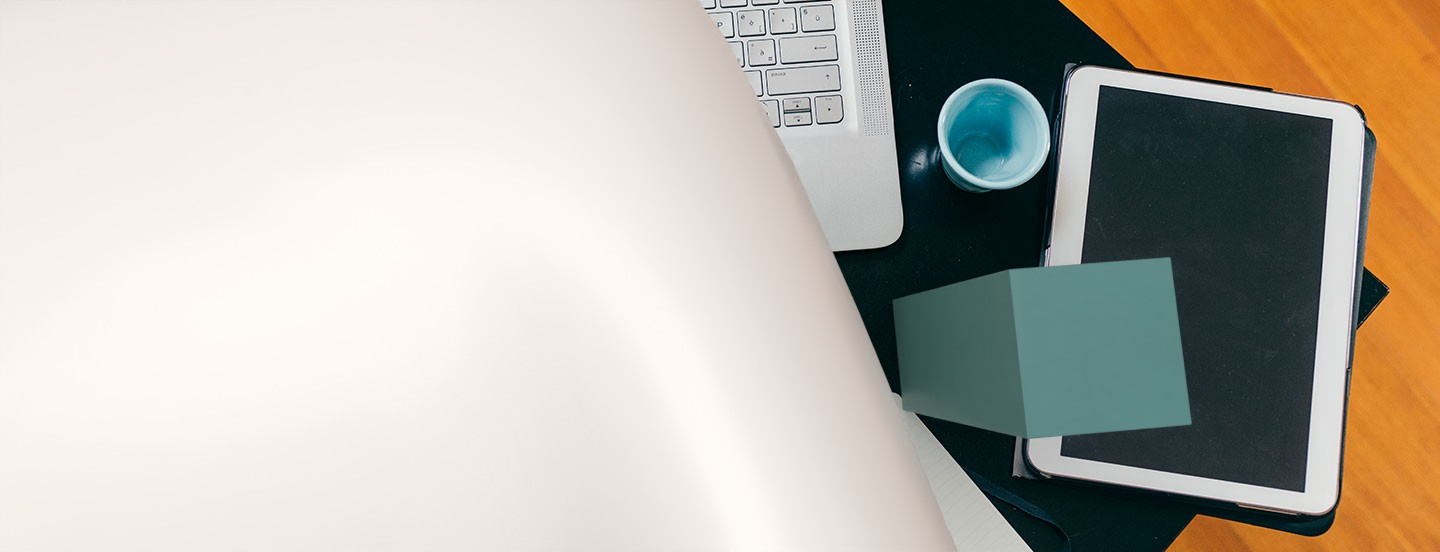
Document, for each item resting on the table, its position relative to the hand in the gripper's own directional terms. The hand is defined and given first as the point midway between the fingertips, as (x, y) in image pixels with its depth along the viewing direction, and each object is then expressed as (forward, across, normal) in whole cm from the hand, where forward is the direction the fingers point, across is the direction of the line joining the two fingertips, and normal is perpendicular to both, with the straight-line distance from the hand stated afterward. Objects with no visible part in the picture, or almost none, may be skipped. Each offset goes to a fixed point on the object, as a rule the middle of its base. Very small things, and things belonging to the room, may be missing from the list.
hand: (433, 206), depth 35 cm
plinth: (+27, +8, +29) cm, 41 cm away
